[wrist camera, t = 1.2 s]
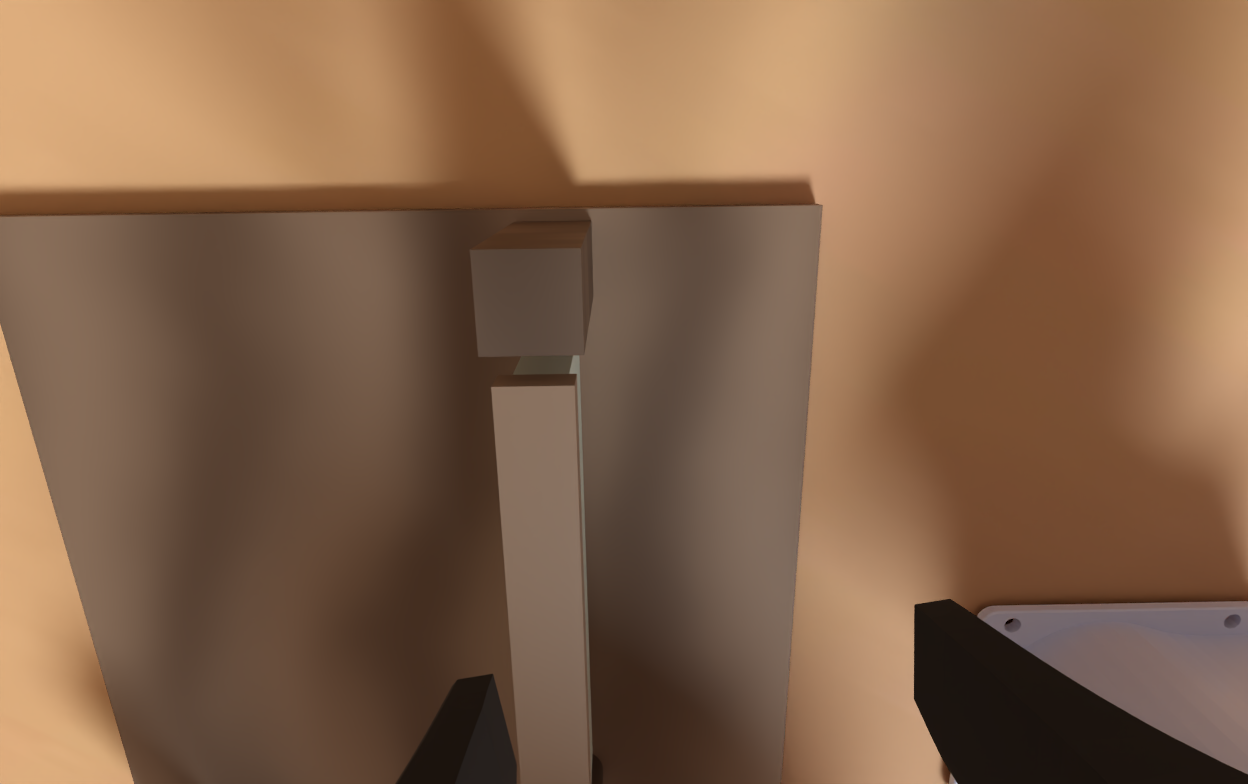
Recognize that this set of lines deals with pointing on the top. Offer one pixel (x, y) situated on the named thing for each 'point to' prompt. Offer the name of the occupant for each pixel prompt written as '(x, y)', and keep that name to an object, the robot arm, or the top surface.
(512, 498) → the panel
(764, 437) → the brown piece
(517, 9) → the top surface
